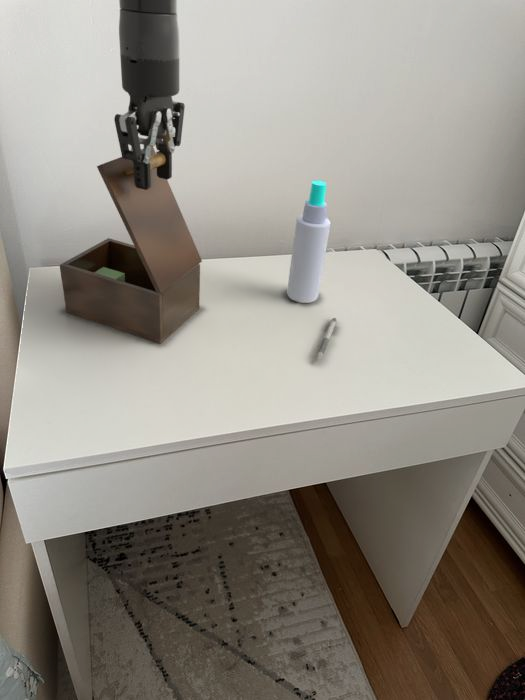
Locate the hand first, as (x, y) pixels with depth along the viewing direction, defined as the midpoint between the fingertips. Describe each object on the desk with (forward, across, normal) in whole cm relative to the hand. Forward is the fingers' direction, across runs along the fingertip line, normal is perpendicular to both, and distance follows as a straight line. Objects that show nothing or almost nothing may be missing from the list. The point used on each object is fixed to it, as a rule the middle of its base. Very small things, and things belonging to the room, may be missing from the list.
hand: (153, 182), depth 79 cm
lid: (+6, 0, 0) cm, 6 cm away
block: (+23, 0, -10) cm, 25 cm away
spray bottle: (+24, -21, +19) cm, 37 cm away
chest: (+24, 0, -5) cm, 24 cm away
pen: (+24, -8, +28) cm, 38 cm away
